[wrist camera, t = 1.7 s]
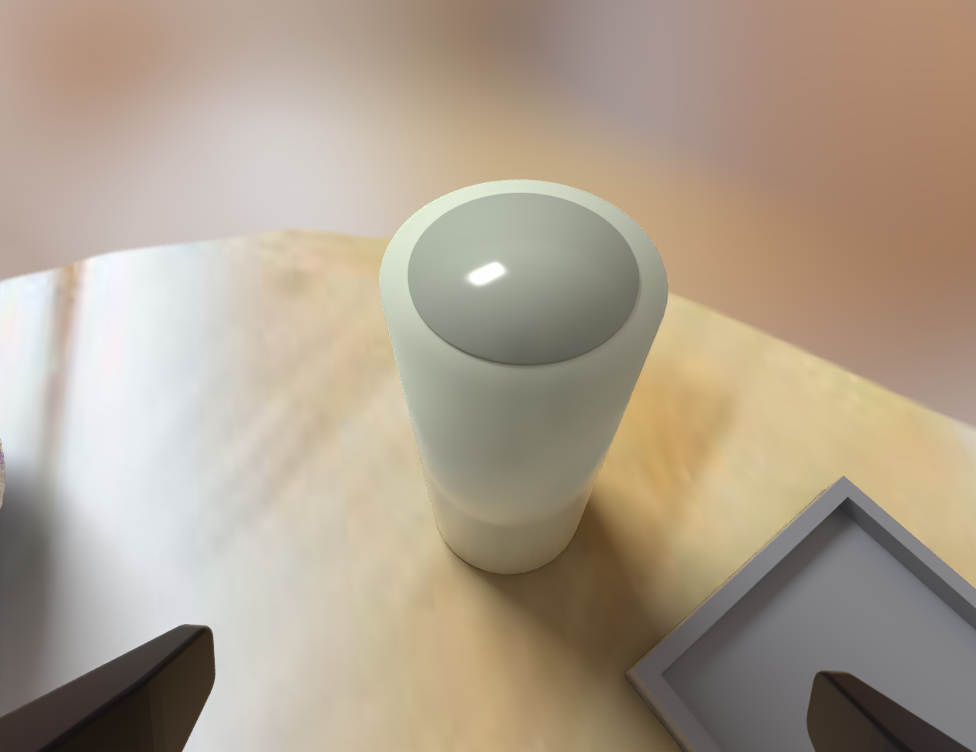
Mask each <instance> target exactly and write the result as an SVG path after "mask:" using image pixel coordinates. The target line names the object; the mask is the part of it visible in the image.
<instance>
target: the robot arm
mask: <svg viewBox="0 0 976 752" xmlns="http://www.w3.org/2000/svg"><path fill="white" fill-rule="evenodd" d="M214 680H215V657H214V641H213V633H212V630H211V629H210V628H209V627H208V626H204V625H190V624H184V625H180V626H178V627H176V628H174V629H172V630H170V631H168V632H166V633H164V634H163V635H161V636H159V637H157V638H155V639H153V640H151V641H149V642H147V643H145V644H143V645H141V646H139V647H137V648H135V649H133V650H131V651H129V652H127V653H125V654H123V655H122V656H120V657H118V658H116V659H114V660H112V661H110V662H108V663H106V664H104V665H102V666H100V667H98V668H96V669H94V670H92V671H90V672H88V673H86V674H84V675H83V676H81V677H79V678H77V679H75V680H73V681H71V682H69V683H67V684H65V685H63V686H61V687H59V688H57V689H55V690H53V691H51V692H49V693H47V694H45V695H44V696H42V697H40V698H38V699H36V700H34V701H32V702H30V703H28V704H26V705H24V706H22V707H20V708H18V709H16V710H14V711H12V712H10V713H8V714H6V715H5V716H3V717H1V718H0V752H182V751H183V749H184V747H185V745H186V743H187V741H188V739H189V736H190V734H191V732H192V730H193V728H194V726H195V724H196V722H197V720H198V718H199V716H200V714H201V711H202V709H203V707H204V705H205V703H206V701H207V699H208V697H209V695H210V693H211V690H212V688H213V685H214ZM806 723H807V730H808V734H809V737H810V740H811V743H812V745H813V748H814V750H815V752H973V751H972V750H970V749H969V748H967V747H966V746H964V745H962V744H961V743H959V742H958V741H956V740H955V739H953V738H951V737H950V736H948V735H947V734H945V733H944V732H942V731H940V730H939V729H937V728H936V727H934V726H933V725H931V724H929V723H928V722H926V721H925V720H923V719H922V718H920V717H918V716H917V715H915V714H914V713H912V712H910V711H909V710H907V709H906V708H904V707H903V706H901V705H899V704H898V703H896V702H895V701H893V700H892V699H890V698H888V697H887V696H885V695H884V694H882V693H881V692H879V691H877V690H876V689H874V688H873V687H871V686H870V685H868V684H866V683H865V682H863V681H862V680H860V679H859V678H857V677H855V676H854V675H852V674H850V673H848V672H843V671H829V670H821V671H819V672H817V673H816V675H815V677H814V680H813V685H812V690H811V696H810V701H809V706H808V711H807V718H806Z"/></svg>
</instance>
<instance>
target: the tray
mask: <svg viewBox="0 0 976 752" xmlns="http://www.w3.org/2000/svg"><path fill="white" fill-rule="evenodd" d="M821 670H829V671H843V672H848V673H850V674H852V675H854V676H855V677H857V678H859V679H860V680H862V681H863V682H865V683H866V684H868V685H870V686H871V687H873V688H874V689H876V690H877V691H879V692H881V693H882V694H884V695H885V696H887V697H888V698H890V699H892V700H893V701H895V702H896V703H898V704H899V705H901V706H903V707H904V708H906V709H907V710H909V711H910V712H912V713H914V714H915V715H917V716H918V717H920V718H922V719H923V720H925V721H926V722H928V723H929V724H931V725H933V726H934V727H936V728H937V729H939V730H940V731H942V732H944V733H945V734H947V735H948V736H950V737H951V738H953V739H955V740H956V741H958V742H959V743H961V744H962V745H964V746H966V747H967V748H969V749H970V750H972V751H973V752H976V589H975V588H974V587H973V586H971V585H970V584H969V583H968V582H967V581H966V580H964V579H963V578H962V577H961V576H960V575H959V574H957V573H956V572H955V571H954V570H953V569H952V568H950V567H949V566H948V565H947V564H946V563H945V562H943V561H942V560H941V559H940V558H939V557H938V556H936V555H935V554H934V553H933V552H932V551H931V550H929V549H928V548H927V547H926V546H925V545H924V544H922V543H921V542H920V541H919V540H918V539H917V538H916V537H914V536H913V535H912V534H911V533H910V532H909V531H907V530H906V529H905V528H904V527H903V526H902V525H900V524H899V523H898V522H897V521H896V520H895V519H893V518H892V517H891V516H890V515H889V514H888V513H886V512H885V511H884V510H883V509H882V508H881V507H879V506H878V505H877V504H876V503H875V502H874V501H872V500H871V499H870V498H869V497H868V496H867V495H865V494H864V493H863V492H862V491H861V490H860V489H859V488H857V487H856V486H855V485H854V484H853V483H852V482H850V481H849V480H848V479H847V478H846V477H845V476H843V477H841V478H840V479H839V480H837V481H836V482H835V483H833V484H832V485H831V486H829V487H828V488H827V489H825V490H824V491H823V492H822V493H821V494H820V495H819V496H817V497H816V498H815V499H814V500H813V501H812V502H811V503H810V504H809V505H808V506H807V507H805V508H804V509H803V510H802V511H801V512H800V513H799V514H798V515H797V516H796V517H795V518H794V519H792V520H791V521H790V522H789V523H788V524H787V525H786V526H785V527H784V528H783V529H782V530H780V531H779V532H778V533H777V534H776V535H775V536H774V537H773V538H772V539H771V540H770V541H769V542H767V543H766V544H765V545H764V546H763V547H762V548H761V549H760V550H759V551H758V552H757V553H755V554H754V555H753V556H752V557H751V558H750V559H749V560H748V561H747V562H746V563H745V564H744V565H742V566H741V567H740V568H739V569H738V570H737V571H736V572H735V573H734V574H733V575H732V576H730V577H729V578H728V579H727V580H726V581H725V582H724V583H723V584H722V585H721V586H720V587H719V588H717V589H716V590H715V591H714V592H713V593H712V594H711V595H710V596H709V597H708V598H707V599H705V600H704V601H703V602H702V603H701V604H700V605H699V606H698V607H697V608H696V609H695V610H694V611H692V612H691V613H690V614H689V615H688V616H687V617H686V618H685V619H684V620H683V621H682V622H680V623H679V624H678V625H677V626H676V627H675V628H674V629H673V630H672V631H671V632H670V633H669V634H667V635H666V636H665V637H664V638H663V639H662V640H661V641H660V642H659V643H658V644H657V645H655V646H654V647H653V648H652V649H651V650H650V651H649V652H648V653H647V654H646V655H645V656H644V657H642V658H641V659H640V660H639V661H638V662H637V663H636V664H635V665H634V666H633V667H632V668H630V669H629V670H628V671H627V672H626V673H625V674H624V675H625V676H626V678H627V679H628V680H629V681H630V683H631V684H632V685H633V687H634V688H635V689H636V691H637V692H638V693H639V694H640V696H641V697H642V698H643V700H644V701H645V702H646V704H647V705H648V706H649V707H650V709H651V710H652V711H653V713H654V714H655V715H656V717H657V718H658V719H659V720H660V722H661V723H662V724H663V726H664V727H665V728H666V730H667V731H668V732H669V734H670V735H671V736H672V737H673V739H674V740H675V741H676V743H677V744H678V745H679V747H680V748H681V749H682V750H683V752H815V750H814V748H813V745H812V743H811V740H810V737H809V734H808V730H807V723H806V718H807V711H808V706H809V701H810V696H811V690H812V685H813V680H814V677H815V675H816V673H817V672H819V671H821Z"/></svg>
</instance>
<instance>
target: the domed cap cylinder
mask: <svg viewBox="0 0 976 752" xmlns="http://www.w3.org/2000/svg"><path fill="white" fill-rule="evenodd" d="M379 290H380V299H381V303H382V307H383V311H384V315H385V319H386V323H387V327H388V331H389V335H390V339H391V343H392V347H393V351H394V355H395V359H396V363H397V368H398V372H399V376H400V380H401V384H402V388H403V392H404V396H405V400H406V404H407V408H408V412H409V416H410V420H411V424H412V428H413V432H414V436H415V441H416V445H417V449H418V453H419V457H420V461H421V465H422V469H423V473H424V477H425V481H426V485H427V489H428V493H429V497H430V501H431V505H432V509H433V513H434V517H435V521H436V525H437V527H438V529H439V532H440V534H441V536H442V537H443V539H444V541H445V542H446V543H447V545H448V546H449V547H450V548H451V550H452V551H453V552H454V553H455V554H456V555H458V556H459V557H460V558H461V559H463V560H464V561H465V562H467V563H469V564H470V565H472V566H474V567H476V568H479V569H481V570H484V571H487V572H492V573H496V574H520V573H525V572H529V571H532V570H535V569H538V568H540V567H542V566H544V565H546V564H547V563H549V562H550V561H552V560H553V559H555V558H556V557H557V556H558V555H559V554H560V553H561V552H562V551H563V550H564V549H565V548H566V547H567V545H568V544H569V542H570V541H571V539H572V538H573V536H574V534H575V531H576V529H577V527H578V524H579V522H580V519H581V517H582V515H583V512H584V510H585V507H586V505H587V502H588V500H589V497H590V495H591V493H592V490H593V488H594V485H595V483H596V480H597V478H598V475H599V473H600V471H601V468H602V466H603V463H604V461H605V458H606V456H607V453H608V451H609V448H610V446H611V444H612V441H613V439H614V436H615V434H616V431H617V429H618V426H619V424H620V422H621V419H622V417H623V414H624V412H625V409H626V407H627V404H628V402H629V400H630V397H631V395H632V392H633V390H634V387H635V385H636V382H637V380H638V378H639V375H640V373H641V370H642V368H643V365H644V363H645V360H646V358H647V356H648V353H649V351H650V348H651V346H652V343H653V341H654V338H655V336H656V333H657V331H658V329H659V326H660V324H661V321H662V319H663V316H664V313H665V309H666V304H667V296H668V283H667V275H666V271H665V267H664V264H663V261H662V258H661V256H660V254H659V252H658V250H657V248H656V246H655V245H654V243H653V242H652V240H651V239H650V237H649V236H648V235H647V234H646V232H645V231H644V230H643V229H642V228H641V227H640V226H639V225H638V224H637V223H636V222H635V221H634V220H633V219H632V218H631V217H629V216H628V215H627V214H626V213H624V212H623V211H621V210H620V209H619V208H617V207H616V206H614V205H612V204H611V203H609V202H607V201H605V200H603V199H601V198H599V197H597V196H595V195H593V194H590V193H588V192H585V191H583V190H579V189H576V188H573V187H570V186H565V185H562V184H557V183H552V182H545V181H538V180H501V181H493V182H486V183H481V184H476V185H472V186H469V187H465V188H462V189H459V190H456V191H454V192H451V193H449V194H446V195H444V196H442V197H440V198H438V199H436V200H434V201H433V202H431V203H429V204H428V205H426V206H425V207H423V208H422V209H420V210H419V211H417V212H416V213H415V214H414V215H413V216H412V217H410V218H409V219H408V220H407V221H406V222H405V223H404V225H402V227H401V228H400V229H399V230H398V231H397V232H396V234H395V236H394V237H393V239H392V240H391V242H390V243H389V245H388V247H387V250H386V252H385V254H384V257H383V260H382V264H381V268H380V276H379Z"/></svg>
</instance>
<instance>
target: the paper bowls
mask: <svg viewBox="0 0 976 752" xmlns="http://www.w3.org/2000/svg"><path fill="white" fill-rule="evenodd" d="M3 460H4V454H3V451H2V443H1V440H0V508H1V506H2V503H3V494H4V489H5V482H4V473H5V466H4V461H3Z"/></svg>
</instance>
